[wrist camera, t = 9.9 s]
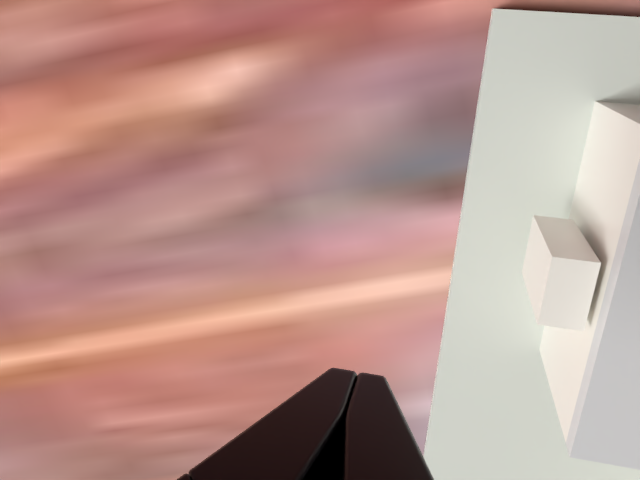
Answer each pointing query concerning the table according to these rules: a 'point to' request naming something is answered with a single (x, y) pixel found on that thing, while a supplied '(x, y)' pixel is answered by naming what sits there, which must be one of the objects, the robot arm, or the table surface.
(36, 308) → the table surface
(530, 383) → the board
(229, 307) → the table surface
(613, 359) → the white square box
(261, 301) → the table surface
